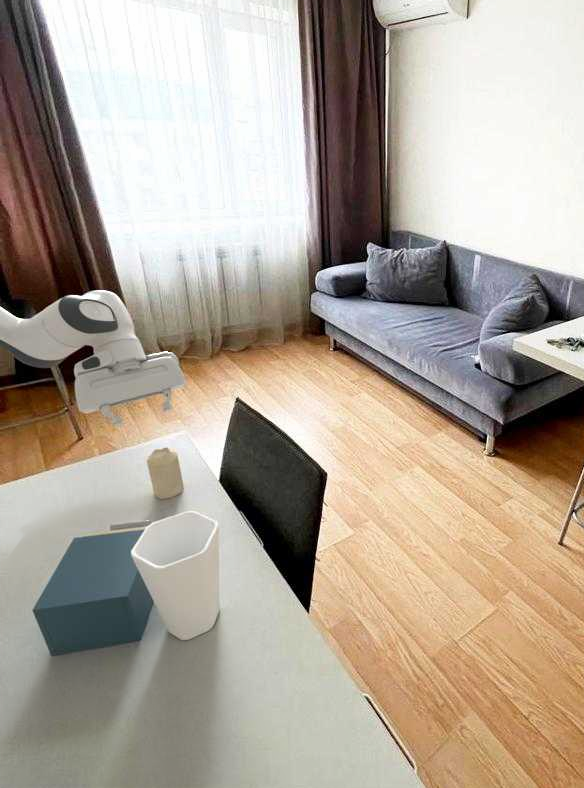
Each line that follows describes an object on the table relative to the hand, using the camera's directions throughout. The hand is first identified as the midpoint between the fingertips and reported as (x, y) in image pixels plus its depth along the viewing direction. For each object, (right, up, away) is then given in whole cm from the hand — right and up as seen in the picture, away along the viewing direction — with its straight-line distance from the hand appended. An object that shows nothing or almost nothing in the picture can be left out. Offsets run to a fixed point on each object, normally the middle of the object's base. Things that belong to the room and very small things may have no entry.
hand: (144, 417), depth 105 cm
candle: (+6, -16, -1) cm, 17 cm away
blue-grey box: (+12, -28, -27) cm, 40 cm away
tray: (+11, -25, -23) cm, 35 cm away
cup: (+25, -29, -27) cm, 47 cm away
